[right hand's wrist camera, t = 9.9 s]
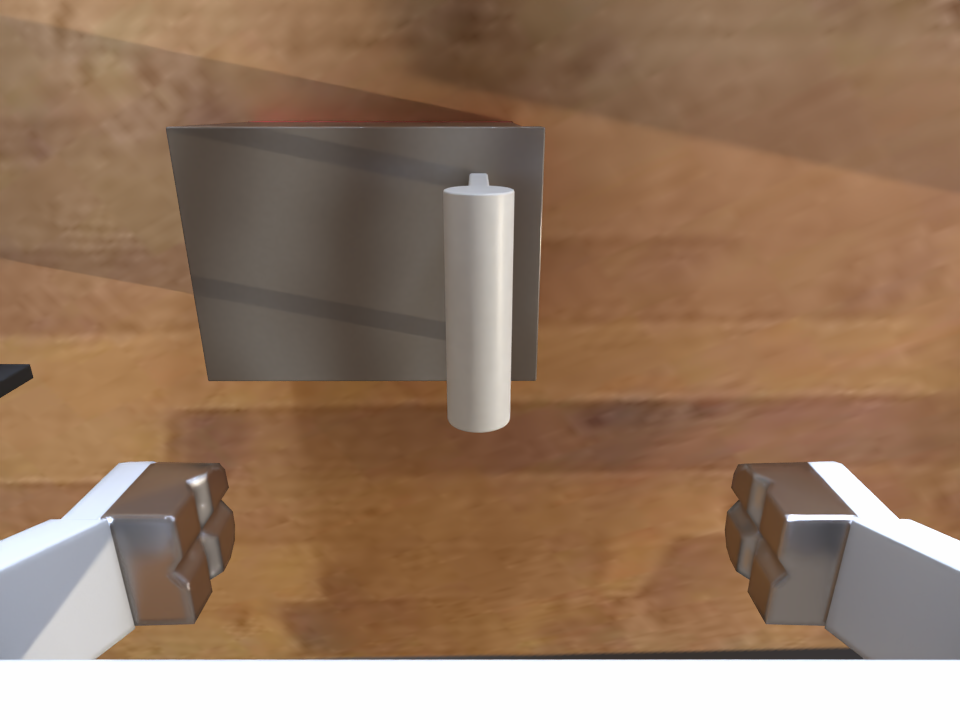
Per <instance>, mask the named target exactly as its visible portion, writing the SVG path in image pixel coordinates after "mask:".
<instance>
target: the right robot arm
mask: <svg viewBox="0 0 960 720" xmlns="http://www.w3.org/2000/svg"><path fill="white" fill-rule="evenodd" d="M228 488H229V486H228V481H227V476H226V472H225V469H224V468H223V467H222V466H221V464H220V463H185V462H157V463H156V462H154V461H149V462H124V463H119V464H118V465H117V466H116V467H114V468H113V469H112V470H111V471H110V472H109V473H108V474H107V475H106V476H105V477H104V478H103V479H102V480H101V481H100V482H99V483H98V484H97V485H96V486H95V487H94V488H93V489H92V490H91V491H90V492H89V493H88V494H87V495H85V496H84V497H83V498H82V499H81V500H80V501H79V502H78V503H77V504H76V505H75V506H74V507H73V508H72V509H71V510H70V511H69V512H68V513H67V514H66V515H65V516H64V517H63V518H62V519H50V520H48V521H45V522H43V523H41V524H38V525H36V526H34V527H31V528H29V529H27V530H24V531H22V532H20V533H17V534H15V535H13V536H10V537H8V538H6V539H3V540H1V541H0V720H960V541H959V540H957V539H954V538H952V537H950V536H947V535H945V534H943V533H940V532H938V531H936V530H933V529H931V528H929V527H926V526H924V525H922V524H919V523H917V522H915V521H912V520H910V519H898V518H897V517H896V516H895V515H894V514H893V513H892V512H891V511H890V510H889V509H888V508H887V507H886V506H885V505H884V504H883V503H882V502H881V501H880V500H879V499H878V498H877V497H876V496H875V495H874V494H873V493H872V492H870V491H869V490H868V489H867V488H866V487H865V486H864V485H863V484H862V483H861V482H860V481H859V480H858V479H857V478H856V477H855V476H854V475H853V474H852V473H851V472H850V471H849V470H848V469H847V468H846V467H845V466H844V465H843V464H840V463H837V462H835V461H827V462H793V463H753V464H738V466H737V468H736V470H735V472H734V475H733V480H732V486H731V488H732V490H733V491H734V493H735V494H736V496H737V497H738V499H739V500H738V501H737V502H736V503H735V504H734V505H733V506H732V507H731V508H730V509H729V510H728V511H727V517H726V525H725V537H726V548H727V551H728V554H729V557H730V560H731V562H732V564H733V566H734V568H735V570H736V571H737V572H738V573H740V574H741V575H743V576H744V577H746V578H748V579H749V580H750V581H749V587H748V593H749V595H750V597H751V599H752V600H753V602H754V604H755V606H756V607H757V609H758V611H759V613H760V615H761V616H762V618H763V620H764V622H765V623H766V624H781V625H818V626H825V629H826V630H828V631H829V632H830V633H832V634H833V635H834V636H835V637H837V638H838V639H839V640H841V641H842V642H843V643H844V644H846V645H847V646H848V647H850V648H851V649H852V650H854V651H855V652H856V653H858V654H859V655H860V656H861V657H863V658H864V659H865V660H95V659H96V658H98V657H99V656H100V655H101V654H103V653H104V652H105V651H107V650H108V649H109V648H111V647H112V646H113V645H114V644H116V643H117V642H118V641H120V640H121V639H122V638H124V637H125V636H126V635H127V634H129V633H130V632H131V631H133V630H134V629H135V626H142V625H178V624H194V623H195V622H196V620H197V618H198V616H199V615H200V613H201V611H202V609H203V607H204V606H205V604H206V602H207V600H208V599H209V597H210V595H211V593H212V587H211V581H210V580H211V579H212V578H214V577H216V576H217V575H219V574H220V573H222V572H223V571H224V570H225V568H226V566H227V564H228V562H229V560H230V558H231V554H232V550H233V545H234V541H235V523H234V516H233V511H232V510H231V509H230V508H229V507H228V506H227V505H226V504H225V503H224V502H223V501H222V500H221V499H222V497H223V496H224V494H225V493H226V491H227V490H228Z"/></svg>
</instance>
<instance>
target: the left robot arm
mask: <svg viewBox="0 0 960 720" xmlns="http://www.w3.org/2000/svg"><path fill="white" fill-rule="evenodd" d="M32 378H33V375H32V371H31V367H30V364H0V398H1V397H2V396H4V395H6V394H7V393H9V392H11V391H12V390H14V389H16V388H17V387H19V386H21V385H22V384H24V383H26V382H27V381H29V380H31V379H32Z"/></svg>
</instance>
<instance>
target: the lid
mask: <svg viewBox="0 0 960 720" xmlns="http://www.w3.org/2000/svg"><path fill="white" fill-rule="evenodd" d="M166 131H167V137H168V143H169V149H170V155H171V161H172V167H173V173H174V179H175V185H176V191H177V197H178V203H179V209H180V215H181V221H182V227H183V233H184V239H185V245H186V250H187V256H188V262H189V268H190V274H191V280H192V286H193V292H194V298H195V304H196V310H197V316H198V322H199V328H200V334H201V340H202V346H203V352H204V358H205V364H206V370H207V375H208V380H209V381H447V412H448V421H449V423H450V424H451V425H452V426H454V427H455V428H457V429H460V430H463V431H467V432H477V433H481V432H490V431H495V430H498V429H500V428H502V427H504V426H505V425H507V424H508V422H509V420H510V394H511V381H536V374H537V345H538V317H539V289H540V260H541V232H542V204H543V176H544V147H545V127H542V126H174V127H166Z"/></svg>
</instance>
